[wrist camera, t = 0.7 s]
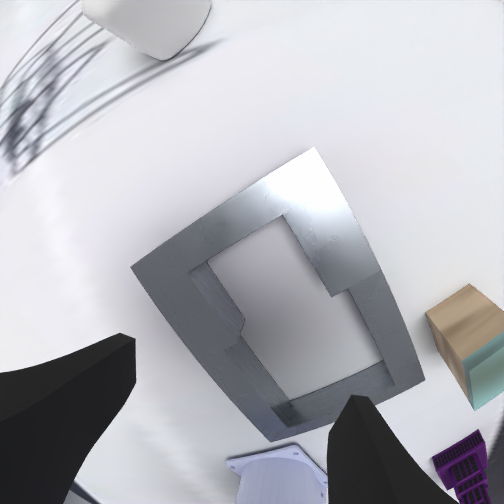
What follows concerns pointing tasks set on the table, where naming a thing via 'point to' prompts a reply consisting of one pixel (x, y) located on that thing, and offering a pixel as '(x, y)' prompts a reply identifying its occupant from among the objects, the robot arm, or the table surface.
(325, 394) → the keyhole plate
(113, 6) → the eye dropper bottle
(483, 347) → the plug block
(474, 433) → the building model
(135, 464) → the table surface
